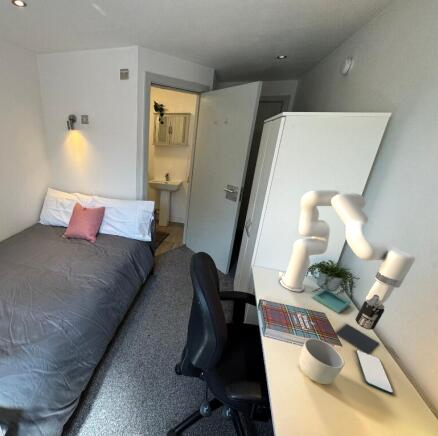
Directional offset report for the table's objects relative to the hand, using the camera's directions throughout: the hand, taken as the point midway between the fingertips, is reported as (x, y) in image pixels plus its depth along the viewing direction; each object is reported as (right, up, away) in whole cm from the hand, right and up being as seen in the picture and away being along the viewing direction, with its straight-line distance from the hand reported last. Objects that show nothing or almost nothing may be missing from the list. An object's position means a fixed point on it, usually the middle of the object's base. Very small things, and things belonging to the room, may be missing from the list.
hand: (370, 312), depth 100 cm
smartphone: (-8, -20, -9) cm, 23 cm away
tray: (+6, -6, +29) cm, 30 cm away
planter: (-33, -19, -11) cm, 39 cm away
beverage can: (0, -7, +3) cm, 7 cm away
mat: (-1, -15, +6) cm, 16 cm away
